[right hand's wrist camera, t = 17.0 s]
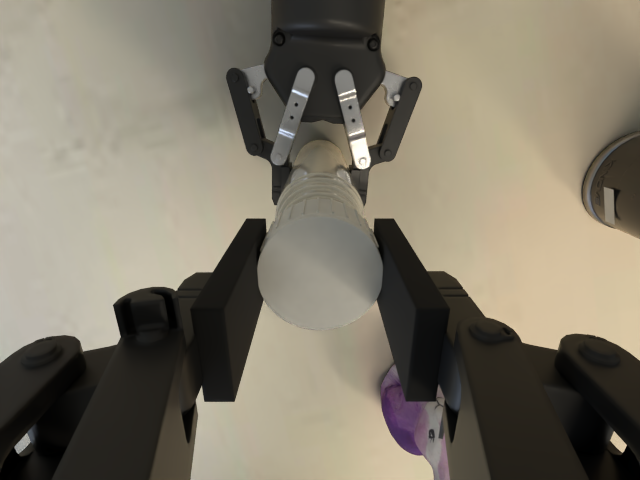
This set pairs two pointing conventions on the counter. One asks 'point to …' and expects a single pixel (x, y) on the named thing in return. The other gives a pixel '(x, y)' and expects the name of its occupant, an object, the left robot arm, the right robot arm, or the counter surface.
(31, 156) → the counter surface
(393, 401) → the figurine
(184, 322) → the right robot arm
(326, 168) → the bottle
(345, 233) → the cap
